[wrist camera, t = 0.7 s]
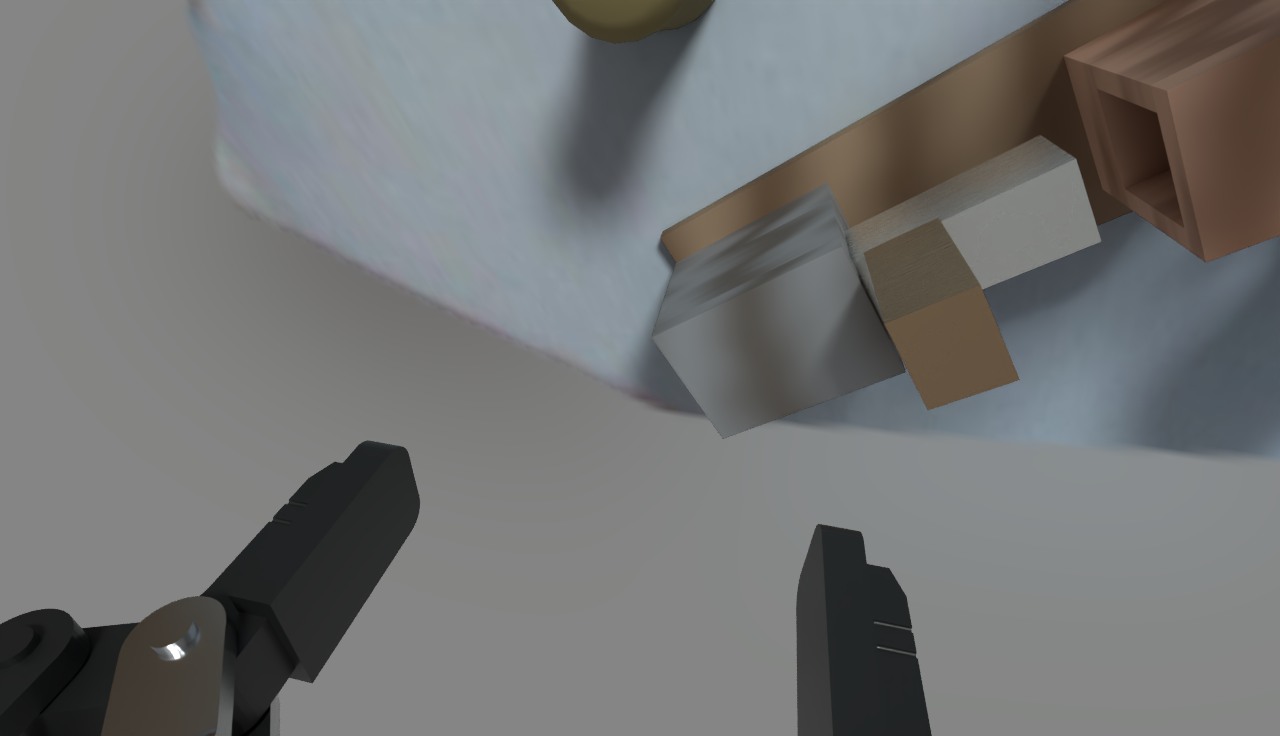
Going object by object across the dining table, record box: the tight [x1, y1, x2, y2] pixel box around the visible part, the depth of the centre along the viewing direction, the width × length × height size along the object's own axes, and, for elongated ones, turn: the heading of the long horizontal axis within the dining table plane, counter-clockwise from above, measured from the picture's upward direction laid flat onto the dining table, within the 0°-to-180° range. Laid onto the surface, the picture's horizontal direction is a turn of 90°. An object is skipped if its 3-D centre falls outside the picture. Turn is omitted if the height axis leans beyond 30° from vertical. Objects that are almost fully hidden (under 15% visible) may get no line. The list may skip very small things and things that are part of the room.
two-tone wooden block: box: [844, 135, 1101, 410], centre depth 25 cm, size 17×4×10 cm, turn 124°
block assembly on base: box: [651, 0, 1280, 439], centre depth 27 cm, size 25×10×9 cm, turn 124°
